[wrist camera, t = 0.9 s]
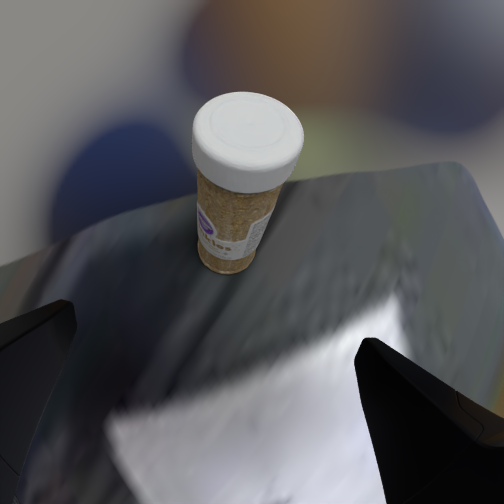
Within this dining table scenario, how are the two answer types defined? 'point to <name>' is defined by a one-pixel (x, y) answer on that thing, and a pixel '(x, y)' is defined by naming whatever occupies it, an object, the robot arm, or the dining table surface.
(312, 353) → the dining table surface
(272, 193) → the sprinkles bottle
